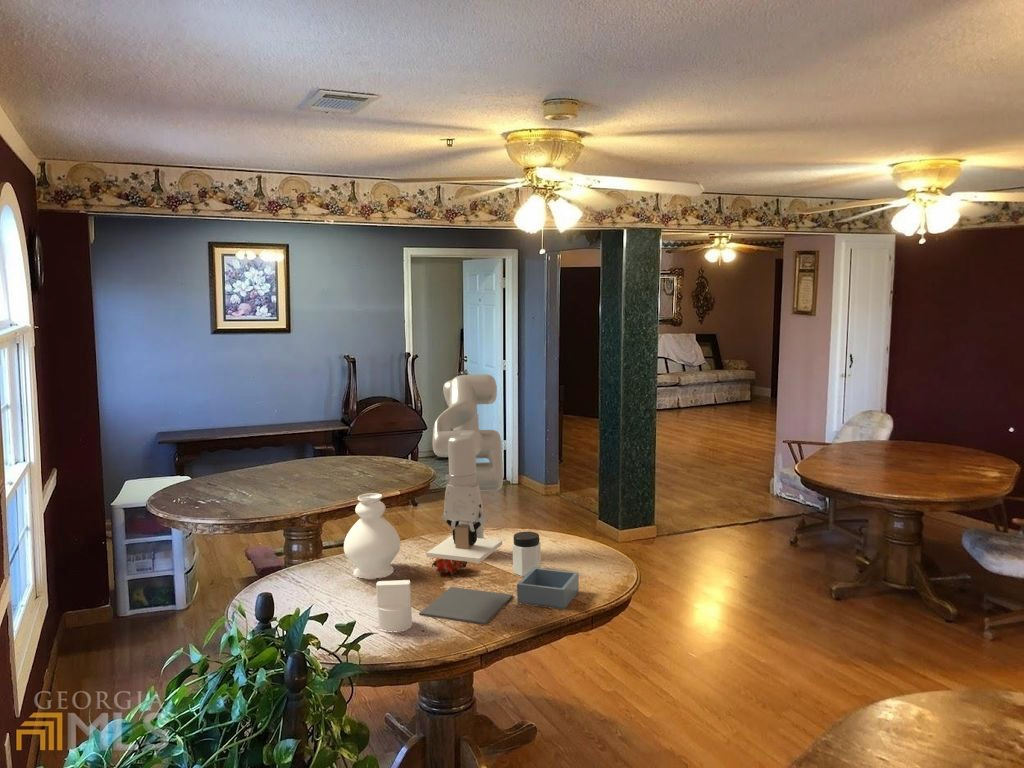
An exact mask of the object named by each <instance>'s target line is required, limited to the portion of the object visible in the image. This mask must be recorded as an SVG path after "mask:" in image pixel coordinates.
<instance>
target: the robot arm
mask: <svg viewBox="0 0 1024 768" xmlns="http://www.w3.org/2000/svg"><path fill="white" fill-rule="evenodd" d="M496 382H497V381H496V379H495V378H494V376H493V375H491V374H487V373H486V374H484V373H483V374H480V373H479V374H461V375H457V376H455V377H453V378H452V379H450V380H447V381H446V382H445V383H444V384H443V390H442V391H443V395H444V399H445V402H446V405H447V406H448V408H447V409H445V410H443V412H441V413H440V415H439V416H438V417H437V418H436V419H435V422H434V425H433V429H432V442H431V443H432V450H433V452H434V454H435V455H436V456H437V457H439V458H448V474H445V477H444V479H445V480H448V483H446V488H445V494H444V502H443V503H444V506H443V507H444V508H443V510H444V511H443V513H442V515H441V516H440V518H441V519H442V520H443V521H444V522H446V524H448V525H449V527H450V529H451V531H452V536H453V540H454V544H455V527H456V526H457V525H459V524H460V523H464V524H469V526H470V532H469V545H470V546H472V545H473V544H475V543H476V541H477V538H482V539H485V538H484V535H485V534H484V524H486V522H488V517H487V516H486V514H485V513H484V510H483V509H484V508H483V501H482V494H481V492H491V491H492V492H495V491H498V490H500V489H502V487H503V484H504V483H503V482H504V469H503V467H504V466H503V463H504V462H503V444H502V439H501V437H502V436H501V434H500V433H499V432H498V431H497V430H494V429H480V427H479V415H478V405H492V404H494V403H495V402H496V400H497V396H498V386H497V383H496ZM476 459H487V460H488V462H487V461H486V462H483V461H482V462H477V460H476Z"/></svg>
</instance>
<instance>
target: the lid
mask: <svg viewBox="0 0 1024 768" xmlns="http://www.w3.org/2000/svg"><path fill="white" fill-rule="evenodd" d="M469 532H470V526H469V524H464V523H460V524H459V525H457V526H456V527H455V544H454V540H453V535H451V536H449V537H448V538H446V539H444V540H443V541H441V542H440V543H439V544H437V545H436V546H434V547H433V548H431V549H430V550H428V551H427V552H426V556H425V557H426V558H433V559H437V558H440V559H449V560H458V561H467V563H469V562H470V563H477V564H480V563H482V562H483V560H485V559H486V558H488V557H489V556H491V554H492V553H494V552H495V551H496V550H497V549H499V548H500V547H501V546H502V545H503V540H498V539H492V538H491V539H489V538H484V539H482V538H477V541H476V543H475V544H473V545H472V546H470V545H469Z"/></svg>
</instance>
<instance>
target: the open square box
mask: <svg viewBox="0 0 1024 768" xmlns="http://www.w3.org/2000/svg"><path fill="white" fill-rule="evenodd" d="M579 576H580V575H579V572H577V571H568V570H567V571H566V570H559V569H549V568H542V567H541V568H533V569H532V570H531V571H530V572H529V573H528V574H527V575H526V576H525V577H522V578H521V580H520V581H518V583H516V596H517V598H516V602H517V604H518V603H519V605H525V604H528V605H527V606H533V605H537V606H536V607H540V606H544V607H543V608H548V607H551V608H550V609H555V608H557V609H558V610H566V608H567V607H568V606H569V605H570V603H571V602H572V601H573V600H574V598H575V597H576V596H577V594H578V593H579V592H580V588H579V587H580V586H579V585H580V584H579V578H580V577H579ZM578 591H579V592H578ZM520 603H521V604H520ZM545 606H546V607H545Z"/></svg>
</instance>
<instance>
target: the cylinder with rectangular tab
mask: <svg viewBox="0 0 1024 768" xmlns="http://www.w3.org/2000/svg"><path fill="white" fill-rule="evenodd" d="M375 585H376V586H375V587H376V602H377V603H376V604H377V619H378V620H377V623H378V625H377V626H379V627H378V629H379V628H380V629H383V630H386V631H392V632H394V631H397V632H396V633H399V632H398V631H402V632H404V631H403V630H405V631H407V630H409V629H410V628H411V627H412V626H413V619H412V618H413V615H412V595H411V581H410V579H402V580H380V581H379V580H378V581H377V582H376V584H375ZM411 625H412V626H411ZM409 627H410V628H409ZM408 628H409V629H408ZM380 629H379V630H380ZM406 629H407V630H406Z"/></svg>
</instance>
